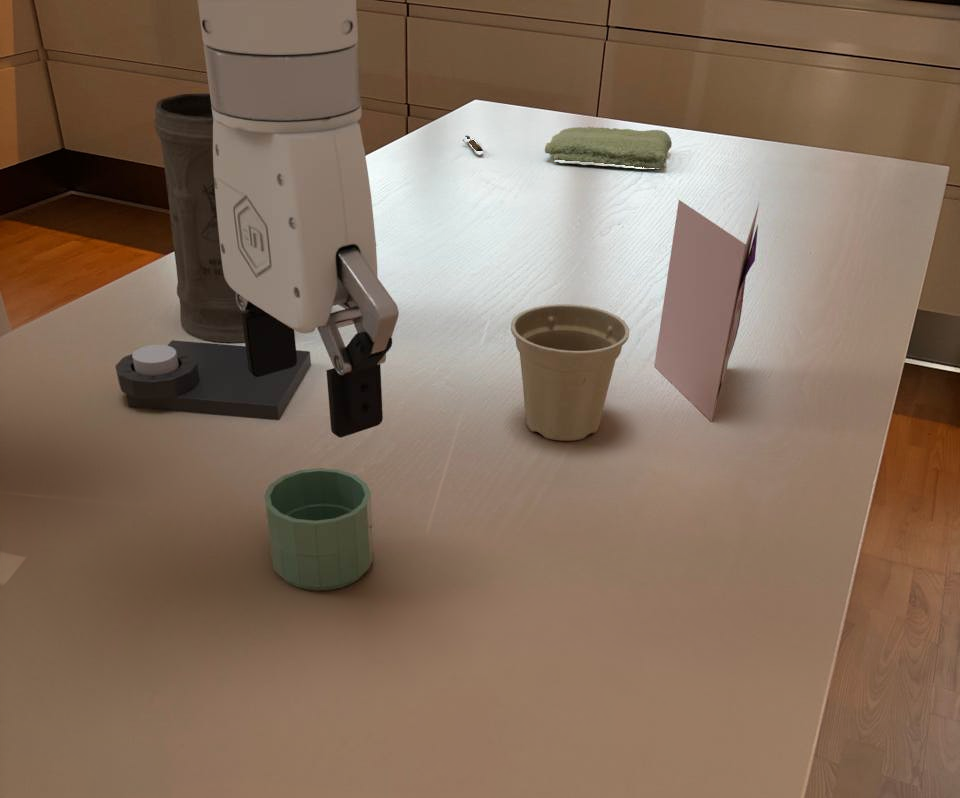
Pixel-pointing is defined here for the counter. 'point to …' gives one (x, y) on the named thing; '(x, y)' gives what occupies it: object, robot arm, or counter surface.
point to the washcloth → (611, 146)
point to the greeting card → (702, 306)
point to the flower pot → (567, 366)
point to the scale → (213, 383)
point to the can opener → (474, 144)
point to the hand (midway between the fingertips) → (313, 398)
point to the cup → (319, 528)
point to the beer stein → (196, 218)
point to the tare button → (155, 360)
